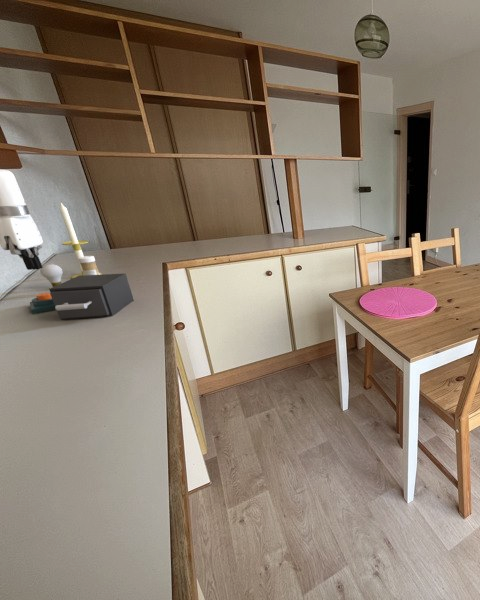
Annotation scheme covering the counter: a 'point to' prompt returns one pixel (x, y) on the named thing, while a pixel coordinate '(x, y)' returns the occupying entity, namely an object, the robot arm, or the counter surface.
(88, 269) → the sprinkles bottle
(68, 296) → the dark grey drawer
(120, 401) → the counter surface
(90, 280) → the dark grey drawer box
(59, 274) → the light bulb
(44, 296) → the button
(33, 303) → the block
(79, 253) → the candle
